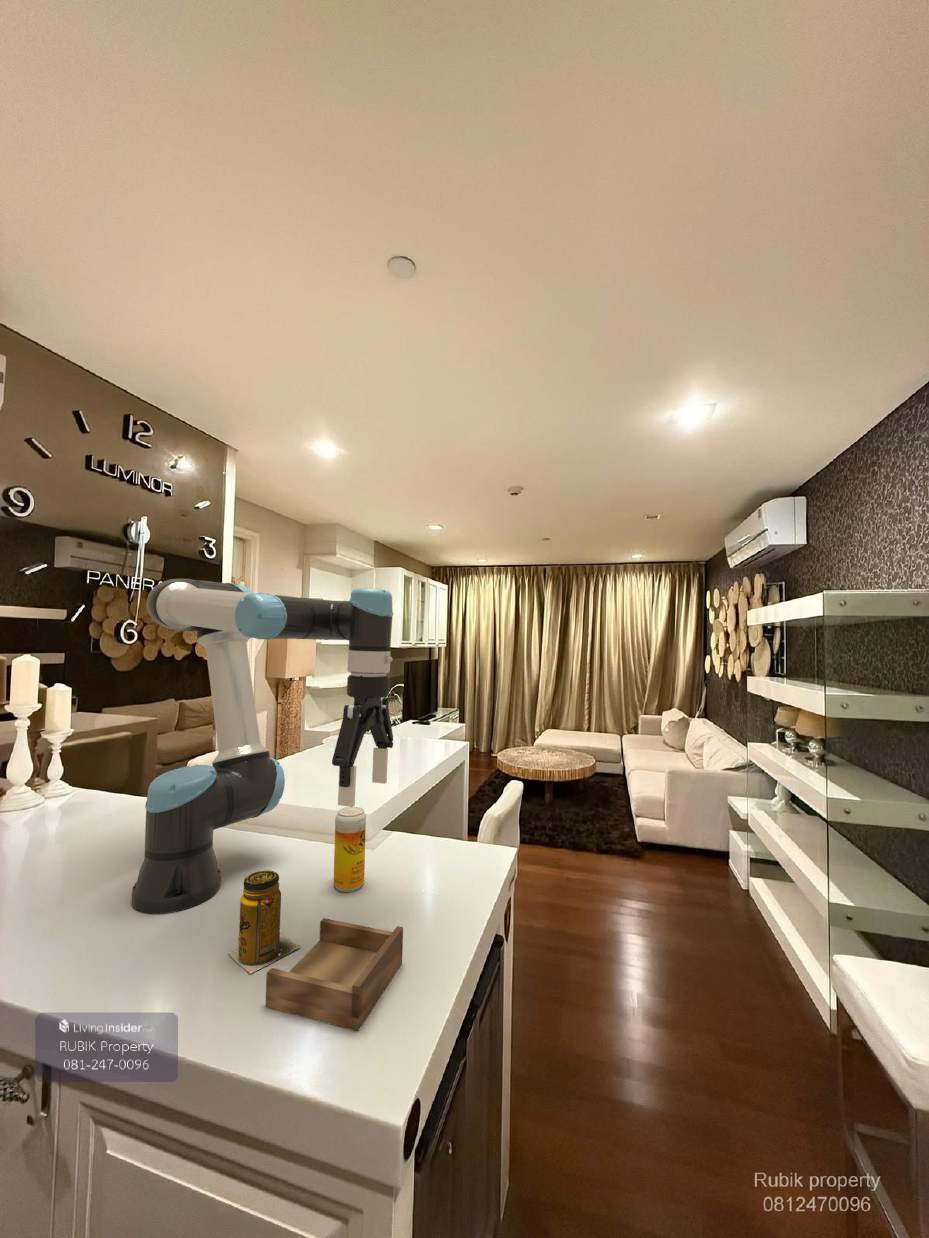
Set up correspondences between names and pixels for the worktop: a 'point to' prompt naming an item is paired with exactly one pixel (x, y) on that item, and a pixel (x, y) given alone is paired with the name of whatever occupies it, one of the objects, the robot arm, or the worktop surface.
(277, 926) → the condiment
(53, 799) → the worktop surface
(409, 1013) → the worktop surface
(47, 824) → the worktop surface
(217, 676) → the robot arm
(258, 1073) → the worktop surface
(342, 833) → the beer can
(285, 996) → the wooden serving tray
